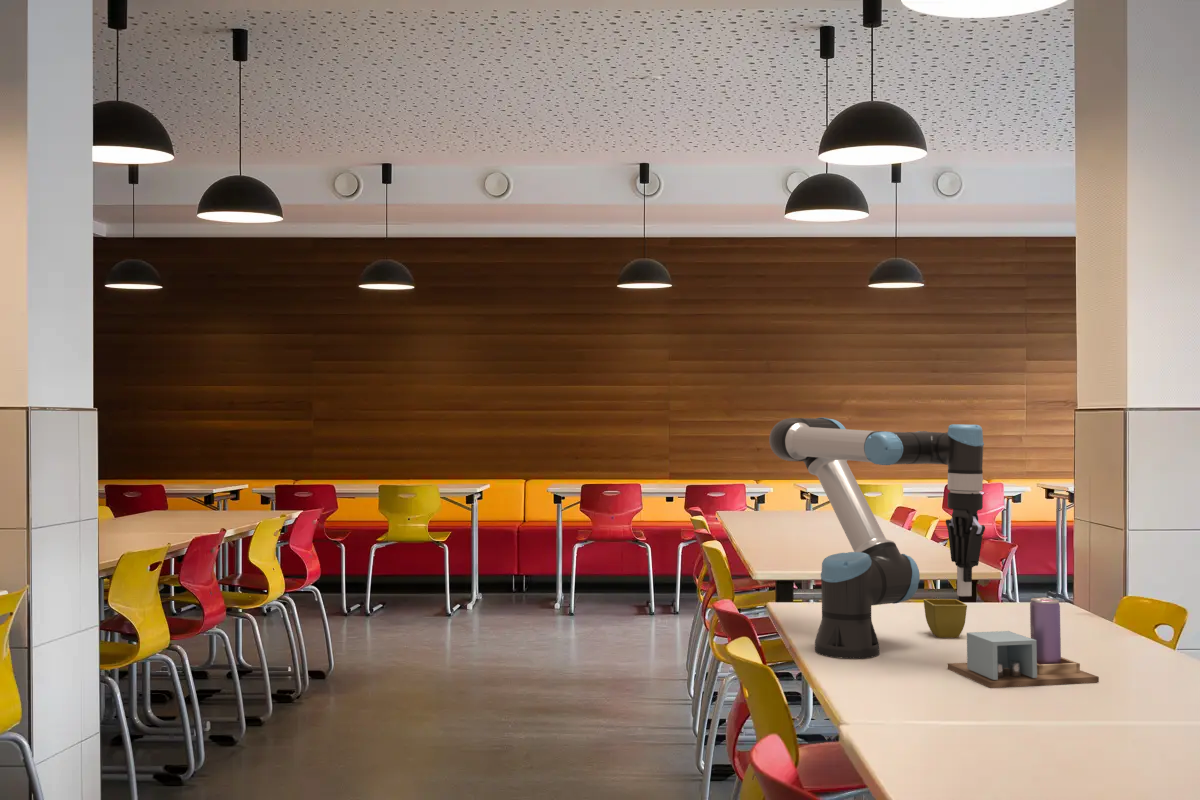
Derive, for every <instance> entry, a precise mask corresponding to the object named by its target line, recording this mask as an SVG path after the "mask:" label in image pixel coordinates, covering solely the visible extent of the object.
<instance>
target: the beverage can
mask: <svg viewBox="0 0 1200 800" xmlns="http://www.w3.org/2000/svg"><path fill="white" fill-rule="evenodd" d="M1029 610H1030V612H1029V614H1030V617H1029V618H1030V619H1029V620H1030V621H1029V622H1030V624H1029V625H1030V638H1031V639H1034V640H1036V644H1037V663H1038V664H1040V665H1041V664H1061V657H1062V654H1061V653H1062V652H1061V651H1062V650H1061V649H1062V647H1061V644H1062V643H1061V639H1062V638H1061V605H1060V600H1059V599H1056V598H1050V597H1032V598H1031V599H1030V602H1029Z"/></svg>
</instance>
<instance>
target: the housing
mask: <svg viewBox="0 0 1200 800" xmlns="http://www.w3.org/2000/svg"><path fill="white" fill-rule="evenodd" d="M966 660H967V661H966V663H967V669H969V670H971V671H974V672H976V673H978V674H981V675H983V676H985V677H988V678H990V679H992V680H998V664H997V662H1002V663H1003V668H1009V669H1010V661H1018V662H1020V665H1021V674H1024V675H1026V676H1029V677H1031V678H1037V644H1036V640H1034V639H1031V637H1028V636H1024V635H1023V634H1019V633H1016V632H1013V631H1010V630H1001V631H999V630H997V631H973V632H966Z"/></svg>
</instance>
